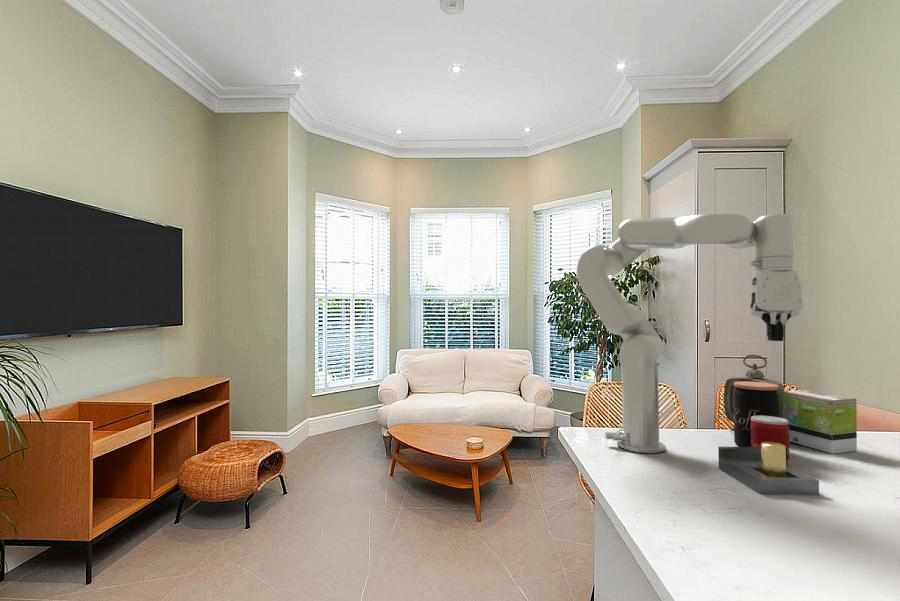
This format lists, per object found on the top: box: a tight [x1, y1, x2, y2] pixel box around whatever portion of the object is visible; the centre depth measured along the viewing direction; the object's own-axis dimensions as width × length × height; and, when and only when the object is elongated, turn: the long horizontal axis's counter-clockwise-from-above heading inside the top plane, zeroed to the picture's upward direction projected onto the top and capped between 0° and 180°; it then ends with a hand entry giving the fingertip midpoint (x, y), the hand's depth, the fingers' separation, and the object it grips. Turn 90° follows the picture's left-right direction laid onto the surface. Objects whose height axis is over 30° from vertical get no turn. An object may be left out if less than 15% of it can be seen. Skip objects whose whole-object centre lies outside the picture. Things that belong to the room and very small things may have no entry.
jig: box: [717, 446, 820, 496], centre depth 106 cm, size 12×16×5 cm
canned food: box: [751, 416, 790, 466], centre depth 120 cm, size 8×8×11 cm
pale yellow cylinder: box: [761, 442, 786, 477], centre depth 103 cm, size 4×4×9 cm
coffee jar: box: [733, 381, 779, 447], centre depth 132 cm, size 11×11×18 cm
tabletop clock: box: [723, 354, 786, 432], centre depth 145 cm, size 14×9×25 cm, turn 28°
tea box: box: [782, 389, 858, 455], centre depth 135 cm, size 15×10×15 cm
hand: (775, 340), depth 114 cm, fingers closed
